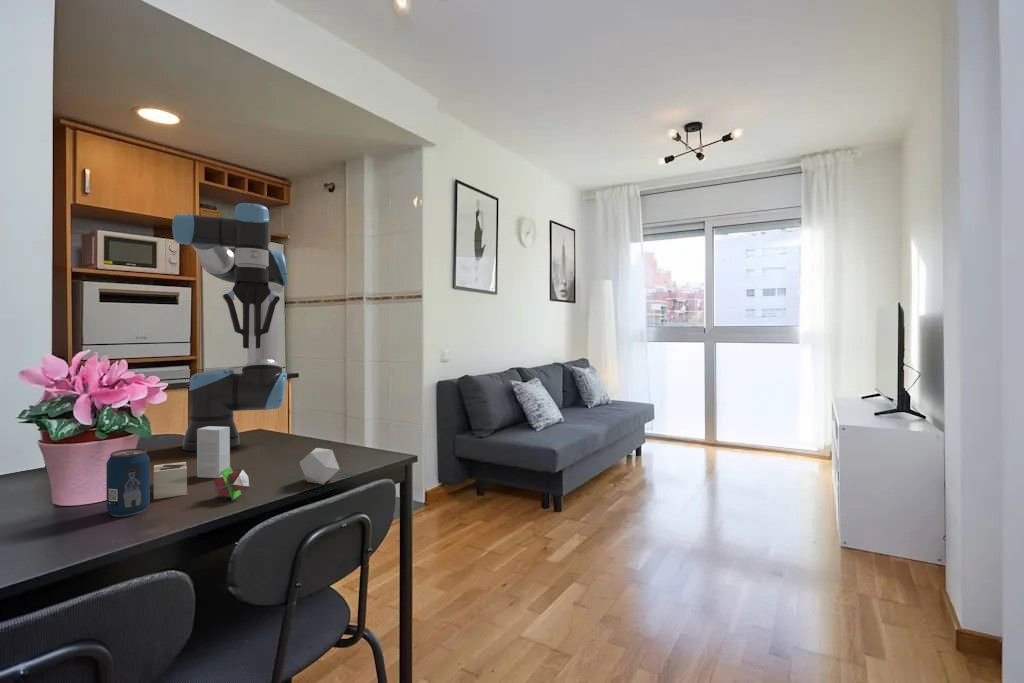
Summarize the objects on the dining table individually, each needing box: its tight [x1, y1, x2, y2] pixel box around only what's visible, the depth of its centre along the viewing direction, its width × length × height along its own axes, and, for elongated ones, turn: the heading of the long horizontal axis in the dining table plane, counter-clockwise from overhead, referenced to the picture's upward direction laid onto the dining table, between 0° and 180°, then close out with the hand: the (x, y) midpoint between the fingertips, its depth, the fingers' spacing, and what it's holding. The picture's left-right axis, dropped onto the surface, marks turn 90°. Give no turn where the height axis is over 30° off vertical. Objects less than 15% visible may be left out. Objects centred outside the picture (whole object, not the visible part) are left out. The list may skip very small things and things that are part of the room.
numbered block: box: [153, 461, 188, 500], centre depth 113 cm, size 6×6×6 cm
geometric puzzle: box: [212, 465, 251, 501], centre depth 111 cm, size 7×7×8 cm
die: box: [298, 447, 341, 485], centre depth 123 cm, size 8×9×10 cm
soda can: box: [105, 448, 151, 518], centre depth 102 cm, size 7×7×12 cm
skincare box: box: [196, 426, 231, 479], centre depth 126 cm, size 6×4×12 cm
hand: (251, 361), depth 128 cm, fingers closed
